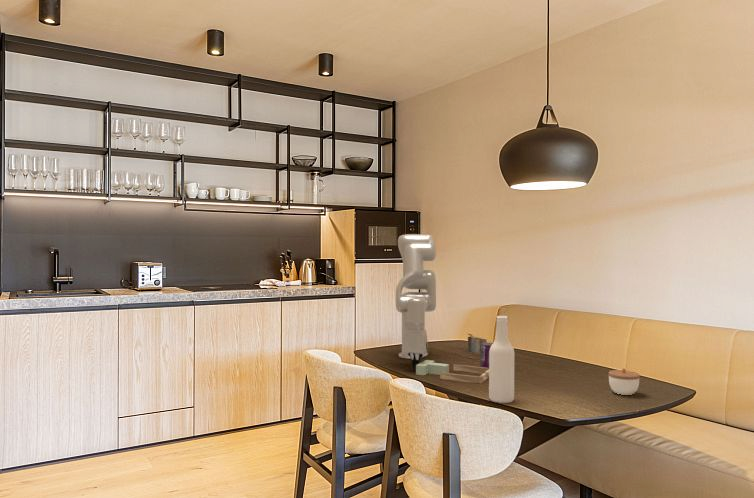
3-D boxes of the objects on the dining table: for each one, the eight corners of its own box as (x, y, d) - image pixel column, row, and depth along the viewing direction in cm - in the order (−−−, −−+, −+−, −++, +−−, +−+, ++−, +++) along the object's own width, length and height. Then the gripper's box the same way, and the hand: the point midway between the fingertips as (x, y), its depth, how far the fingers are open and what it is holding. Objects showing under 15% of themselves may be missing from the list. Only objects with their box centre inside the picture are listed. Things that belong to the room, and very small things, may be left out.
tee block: (442, 377, 239) (442, 368, 238) (416, 374, 244) (416, 365, 244) (451, 371, 249) (451, 362, 249) (426, 368, 255) (426, 359, 254)
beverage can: (496, 373, 246) (496, 345, 246) (479, 372, 248) (480, 344, 248) (496, 369, 253) (496, 342, 253) (480, 368, 255) (480, 342, 254)
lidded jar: (646, 396, 210) (646, 371, 210) (621, 398, 207) (621, 372, 207) (625, 389, 221) (625, 365, 220) (602, 391, 218) (602, 366, 217)
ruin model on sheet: (467, 351, 297) (467, 332, 296) (471, 351, 298) (471, 332, 298) (482, 355, 287) (482, 336, 287) (486, 354, 289) (486, 335, 288)
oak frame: (454, 370, 252) (454, 364, 252) (492, 374, 245) (492, 368, 245) (440, 379, 236) (440, 373, 236) (481, 383, 228) (481, 377, 228)
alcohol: (491, 403, 200) (492, 318, 200) (486, 396, 209) (487, 314, 209) (516, 403, 201) (517, 318, 200) (510, 396, 209) (511, 314, 209)
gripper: (396, 326, 250) (396, 368, 250) (428, 328, 243) (428, 372, 243) (403, 324, 257) (403, 365, 257) (435, 326, 250) (434, 368, 250)
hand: (415, 368), depth 250 cm, fingers closed
